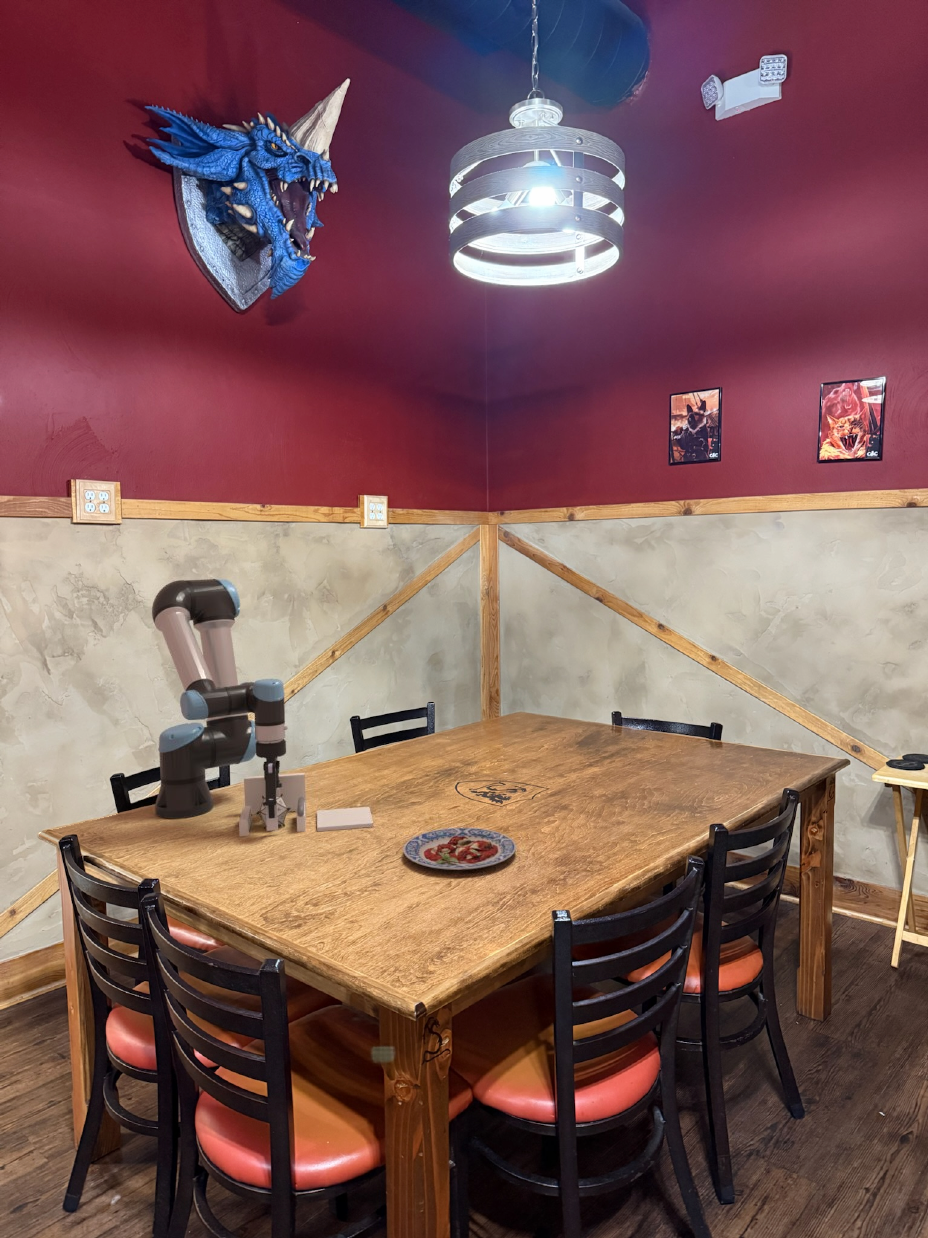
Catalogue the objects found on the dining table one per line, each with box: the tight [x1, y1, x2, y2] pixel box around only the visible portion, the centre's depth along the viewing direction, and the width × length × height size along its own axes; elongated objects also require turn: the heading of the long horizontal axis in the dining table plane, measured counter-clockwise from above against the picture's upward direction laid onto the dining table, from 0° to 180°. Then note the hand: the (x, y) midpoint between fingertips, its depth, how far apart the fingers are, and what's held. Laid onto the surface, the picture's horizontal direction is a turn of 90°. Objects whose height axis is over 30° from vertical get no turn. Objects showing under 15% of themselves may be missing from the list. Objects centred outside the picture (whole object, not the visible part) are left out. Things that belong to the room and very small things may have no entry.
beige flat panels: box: [238, 772, 307, 837], centre depth 206 cm, size 16×19×10 cm
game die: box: [256, 793, 291, 830], centre depth 203 cm, size 9×8×10 cm
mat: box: [316, 806, 374, 832], centre depth 206 cm, size 14×14×1 cm
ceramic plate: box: [402, 827, 517, 871], centre depth 181 cm, size 26×26×3 cm
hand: (273, 821), depth 203 cm, fingers open, 13 cm apart
